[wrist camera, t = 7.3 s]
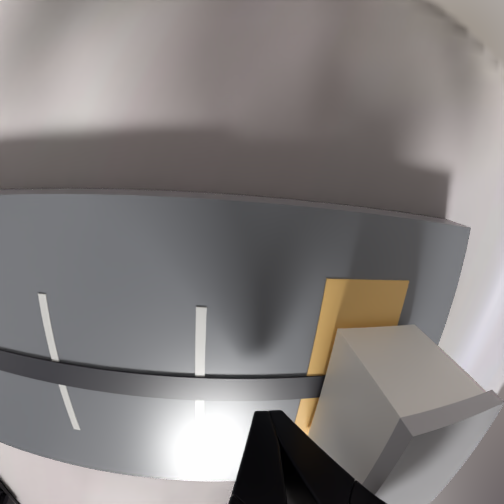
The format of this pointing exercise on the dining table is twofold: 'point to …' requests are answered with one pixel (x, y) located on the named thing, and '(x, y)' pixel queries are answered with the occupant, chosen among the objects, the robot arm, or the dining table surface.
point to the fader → (399, 412)
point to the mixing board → (193, 316)
